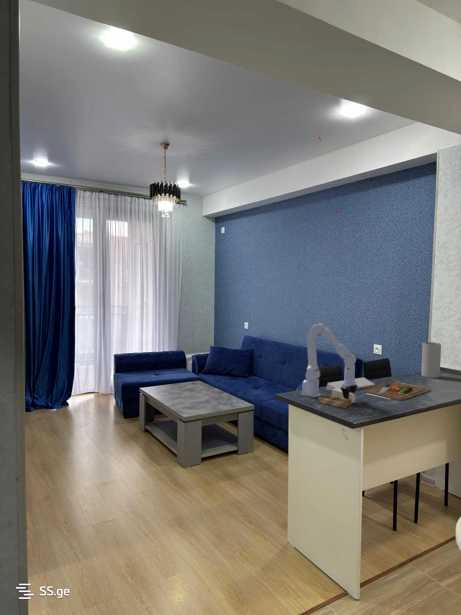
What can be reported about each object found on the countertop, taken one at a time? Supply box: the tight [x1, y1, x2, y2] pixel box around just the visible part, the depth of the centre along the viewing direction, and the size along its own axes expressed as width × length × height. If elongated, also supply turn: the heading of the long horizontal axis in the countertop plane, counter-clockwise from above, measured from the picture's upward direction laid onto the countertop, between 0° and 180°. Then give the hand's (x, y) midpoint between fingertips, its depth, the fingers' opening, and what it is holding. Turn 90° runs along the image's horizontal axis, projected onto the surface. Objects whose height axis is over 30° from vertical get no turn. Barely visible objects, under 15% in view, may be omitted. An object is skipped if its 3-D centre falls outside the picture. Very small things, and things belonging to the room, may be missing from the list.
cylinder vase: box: [421, 341, 442, 379], centre depth 307 cm, size 12×12×25 cm
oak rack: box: [317, 394, 352, 409], centre depth 232 cm, size 16×9×3 cm, turn 49°
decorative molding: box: [325, 377, 376, 391], centre depth 269 cm, size 34×5×10 cm
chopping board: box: [362, 381, 431, 401], centre depth 262 cm, size 45×27×3 cm, turn 130°
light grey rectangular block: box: [331, 389, 356, 404], centre depth 240 cm, size 14×4×5 cm, turn 34°
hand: (348, 398), depth 238 cm, fingers open, 7 cm apart
